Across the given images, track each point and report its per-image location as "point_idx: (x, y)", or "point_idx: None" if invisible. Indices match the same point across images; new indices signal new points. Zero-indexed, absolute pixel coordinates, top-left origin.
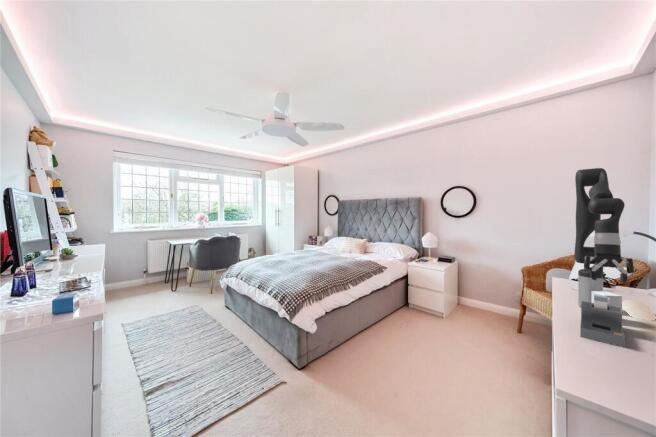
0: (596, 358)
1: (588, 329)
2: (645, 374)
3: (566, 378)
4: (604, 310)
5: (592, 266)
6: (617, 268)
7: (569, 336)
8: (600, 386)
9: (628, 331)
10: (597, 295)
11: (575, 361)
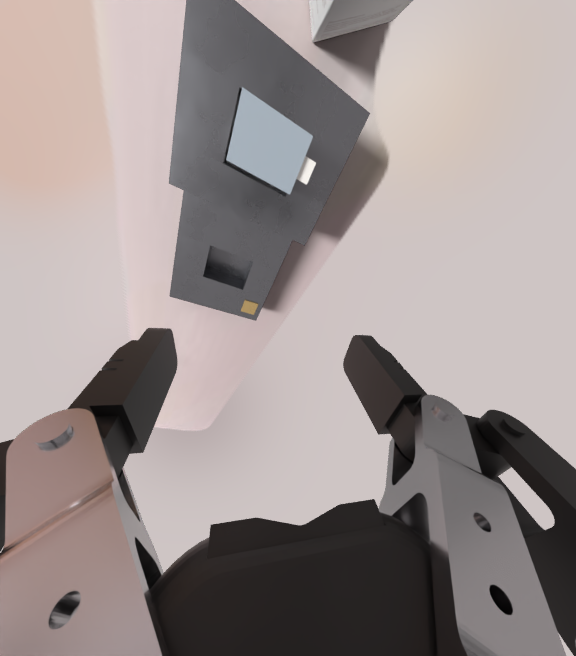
0: (190, 362)
1: (188, 301)
2: (240, 376)
3: None
4: (259, 216)
5: (13, 530)
6: (405, 491)
7: (152, 289)
8: (180, 411)
9: None
10: (257, 126)
11: None
